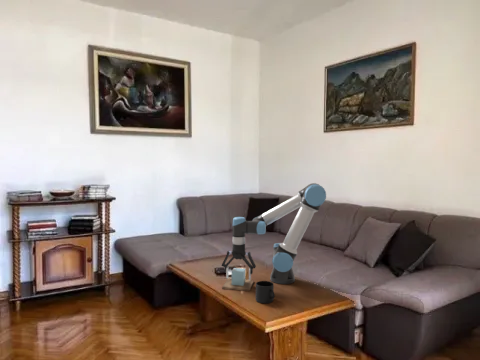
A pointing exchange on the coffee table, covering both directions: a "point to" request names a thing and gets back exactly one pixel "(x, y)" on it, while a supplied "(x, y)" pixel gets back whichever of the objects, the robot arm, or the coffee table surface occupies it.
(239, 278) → the light blue block
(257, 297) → the mug
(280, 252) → the robot arm
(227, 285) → the post base
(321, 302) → the coffee table surface
